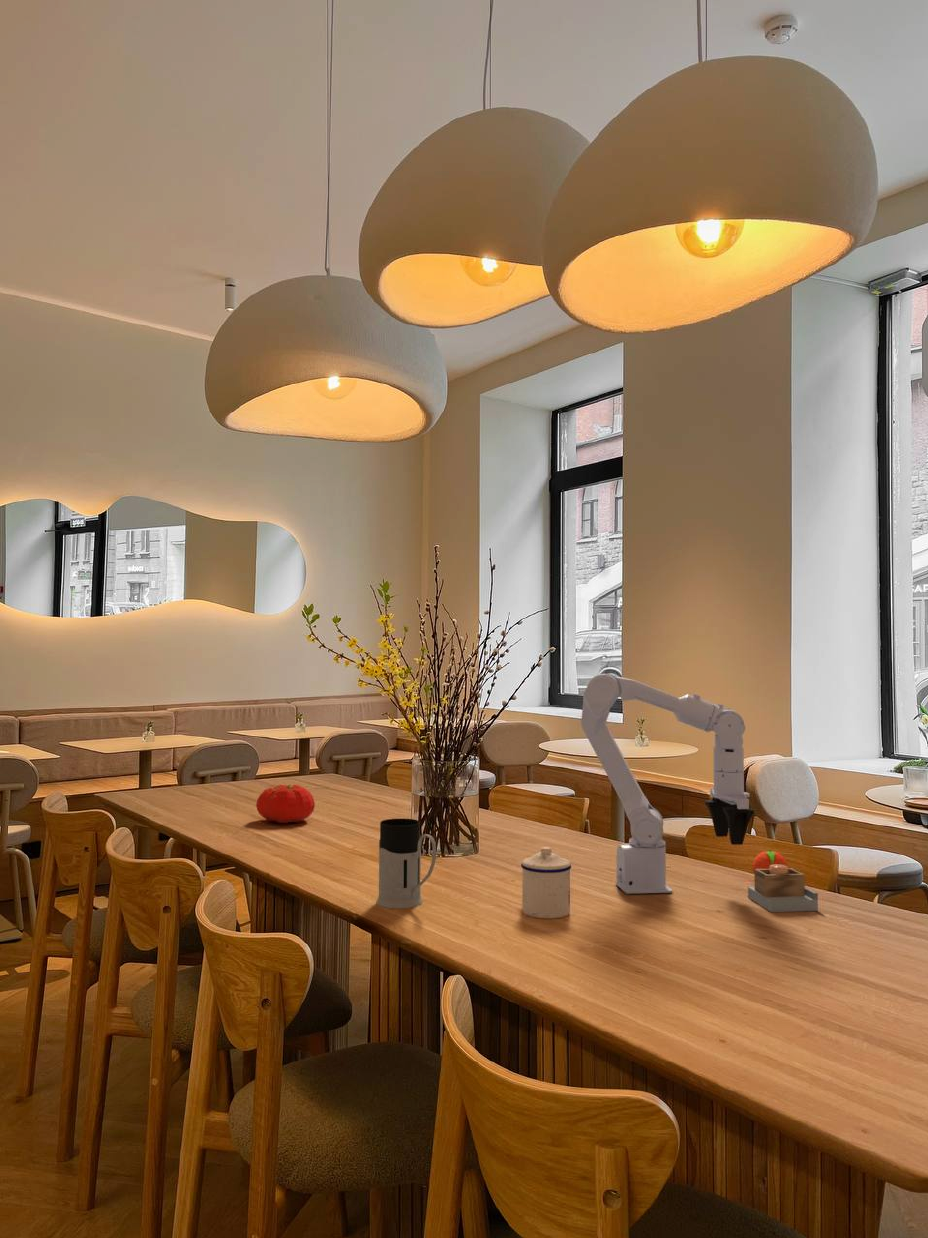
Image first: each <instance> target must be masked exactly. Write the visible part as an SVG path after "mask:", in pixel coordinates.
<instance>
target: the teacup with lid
mask: <svg viewBox="0 0 928 1238" xmlns="http://www.w3.org/2000/svg"><path fill="white" fill-rule="evenodd" d="M552 851H553V849H552V848H551V847H548V846H542V847H541V848H540V851H539V852H537V853H534V855H532V856H529V857H527V858H526V857H525V858H524V859H523V860H522V861H521V865H520V866H521V869H522V872H521V873H522V876H521V877H522V881H521V883H522V890H521V892H522V905H521V906H522V907H521V908H522V912H523V913H524V915H526V916H528V917H531V918H537V919H542V920H543V919H545V920H546V919H547V920H549V919H550V920H551V919H560V918H564V917H566V916H568V915H569V914H570V913H571V868H572V864H571V862H570V860H568V859H566V858H563V857H560V855H559V854H556V853H555V852H552Z"/></svg>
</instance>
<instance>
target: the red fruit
mask: <svg viewBox="0 0 928 1238" xmlns="http://www.w3.org/2000/svg"><path fill="white" fill-rule="evenodd" d="M773 864H780V865H785V866H787V867H788V862H787V860H786V859H785V858H784V856H783V855H781V854H780V853H778V852H776V851H773V850H771V849H769V850H765V851H764V850H763V851H762V852H760V853H758V854H757V855H756V856H755V858H754V860H753V862H752V871H753V874H754V869H770V865H773ZM788 868H789V867H788Z"/></svg>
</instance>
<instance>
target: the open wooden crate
mask: <svg viewBox="0 0 928 1238" xmlns="http://www.w3.org/2000/svg"><path fill="white" fill-rule="evenodd" d="M753 876H754V887H755V891H757V892H758V893H760V894H762V895H763V896H765V897H793V896H805V887H806V886H805V874H804V873H803V872H801V871H799V870H797V869H794V868H791V867H790V868H789V867H788V874H770V869H754V873H753Z"/></svg>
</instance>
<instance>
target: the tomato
mask: <svg viewBox="0 0 928 1238" xmlns="http://www.w3.org/2000/svg"><path fill="white" fill-rule="evenodd" d="M255 805H256V811H257V812H258V814H259V815H260V816H261V817H263V818H264V819H265V820H267V821H269V822H271V821H276V823H278V822H279V823H278V824H281V823H284V824H289V823H292V822H297V823H300V822H301V821H304V820H306V819H307V818H309V817H310V816H311V815H312V813H313V812H314V810H315V806H316V804H315V799H314V797H313V794H311V792H310V791H309V790H308V789H306V788H305V787H303V786H300V785H297V784H293V785H291V784H288V785H287V784H279V785H276V786H273V787H269V788H266V789H264V790H263V791H262V792H261V793H260V794H259V795H258V798H257V799H256V804H255ZM299 821H300V822H299ZM288 822H289V823H288Z"/></svg>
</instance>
